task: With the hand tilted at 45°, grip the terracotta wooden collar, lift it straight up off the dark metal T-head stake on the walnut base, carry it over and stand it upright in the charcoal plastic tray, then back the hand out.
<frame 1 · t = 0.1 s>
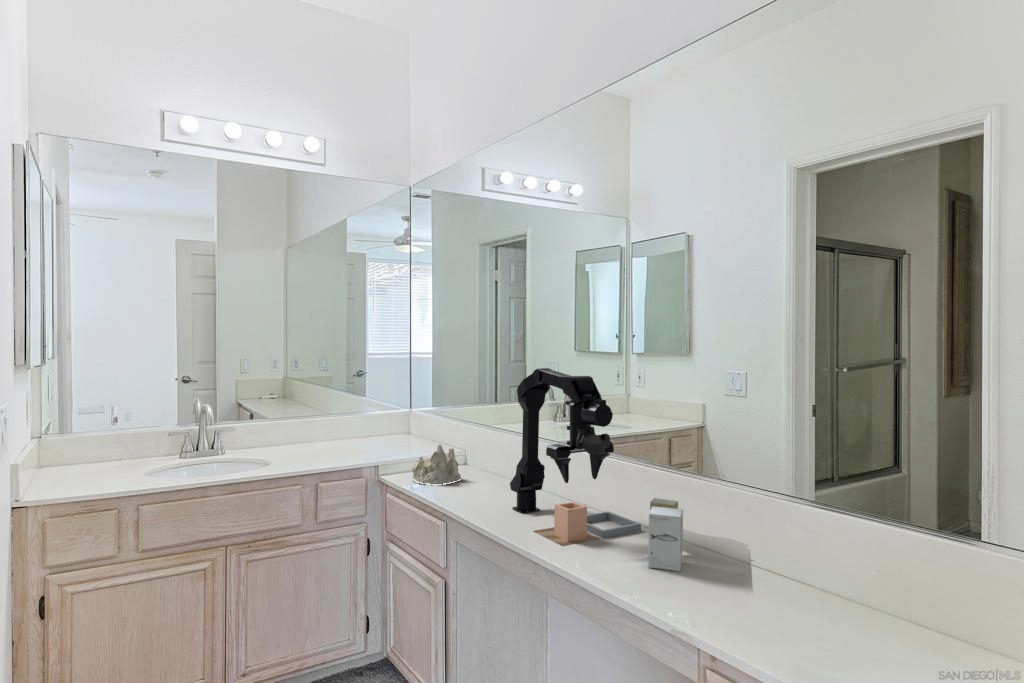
hand: (580, 480, 165), 15 cm above the worktop, tool pointing down, fingers open, 9 cm apart
terracotta collar: (570, 536, 159), point 1 cm above the worktop, touching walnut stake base
charcoal tray: (605, 532, 167), on the worktop
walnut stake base: (566, 540, 161), on the worktop
miniature mountain rock: (437, 481, 230), on the worktop
skincare box: (663, 550, 153), on the worktop
supplement box: (665, 565, 143), on the worktop
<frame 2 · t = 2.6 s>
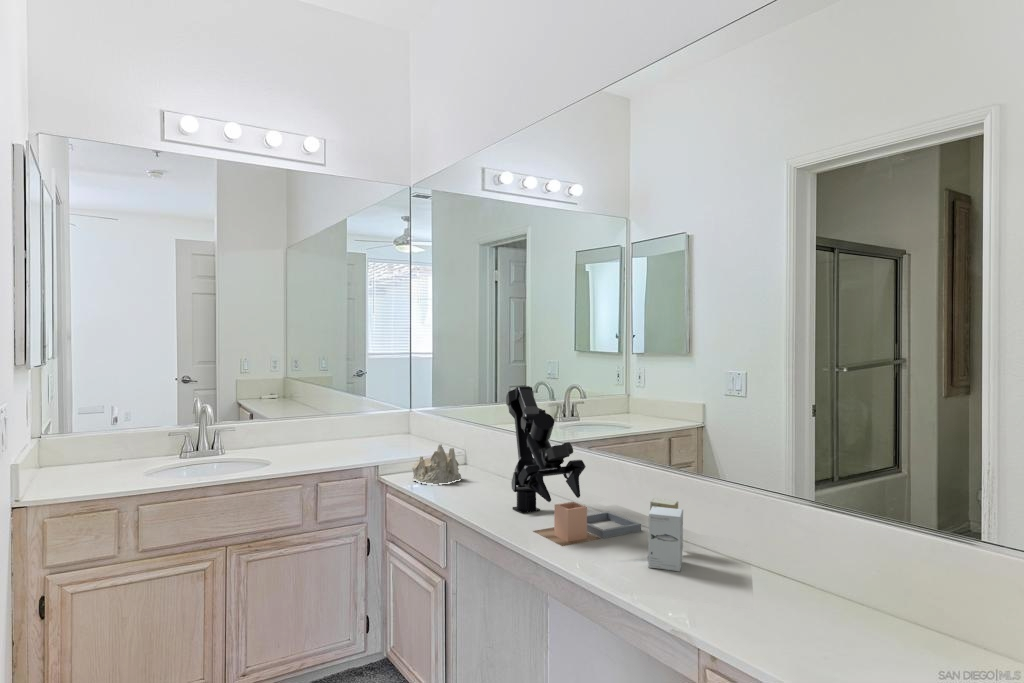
hand: (564, 499, 161), 11 cm above the worktop, tool tilted 45°, fingers open, 9 cm apart
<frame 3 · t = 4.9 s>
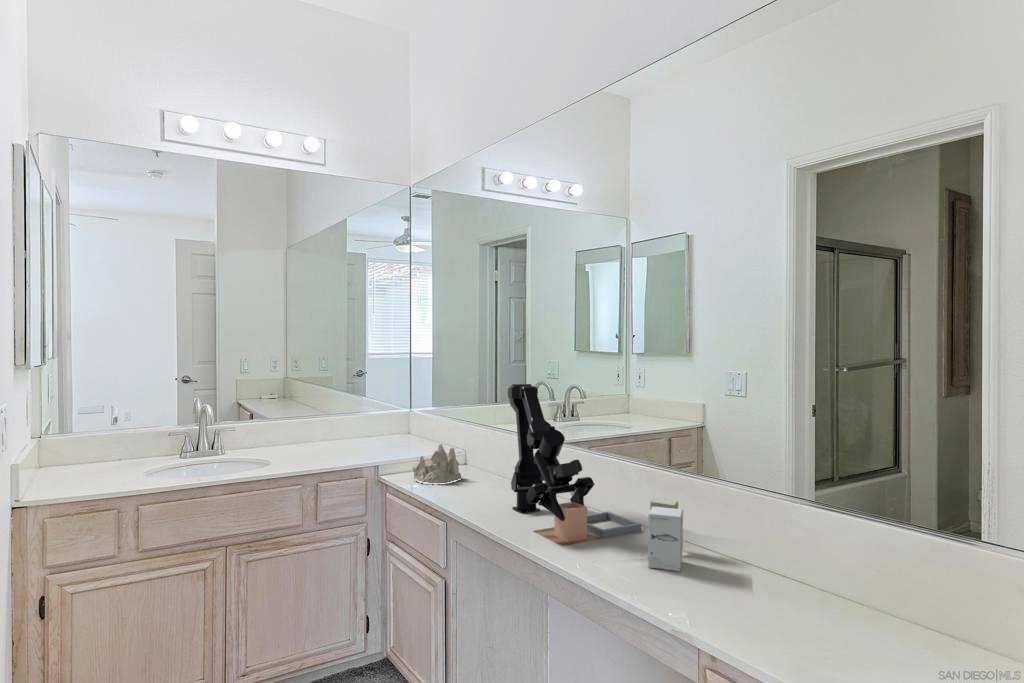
hand: (573, 518, 158), 7 cm above the worktop, tool tilted 45°, fingers closed on terracotta collar, 6 cm apart
terracotta collar: (570, 536, 159), point 2 cm above the worktop, touching gripper, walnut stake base
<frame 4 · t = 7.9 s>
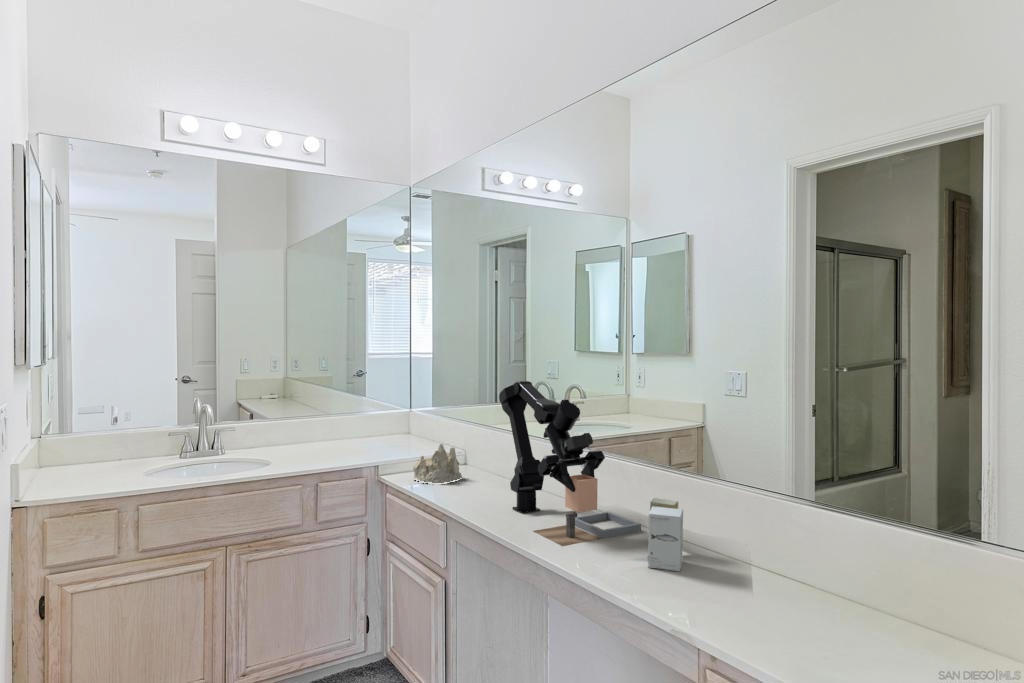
hand: (584, 489, 160), 13 cm above the worktop, tool tilted 45°, fingers closed on terracotta collar, 6 cm apart
terracotta collar: (581, 508, 161), point 8 cm above the worktop, touching gripper
when the fingers open (8 cm above the worktop, at t = 10.9 s): terracotta collar drops 2 cm, resting on charcoal tray.
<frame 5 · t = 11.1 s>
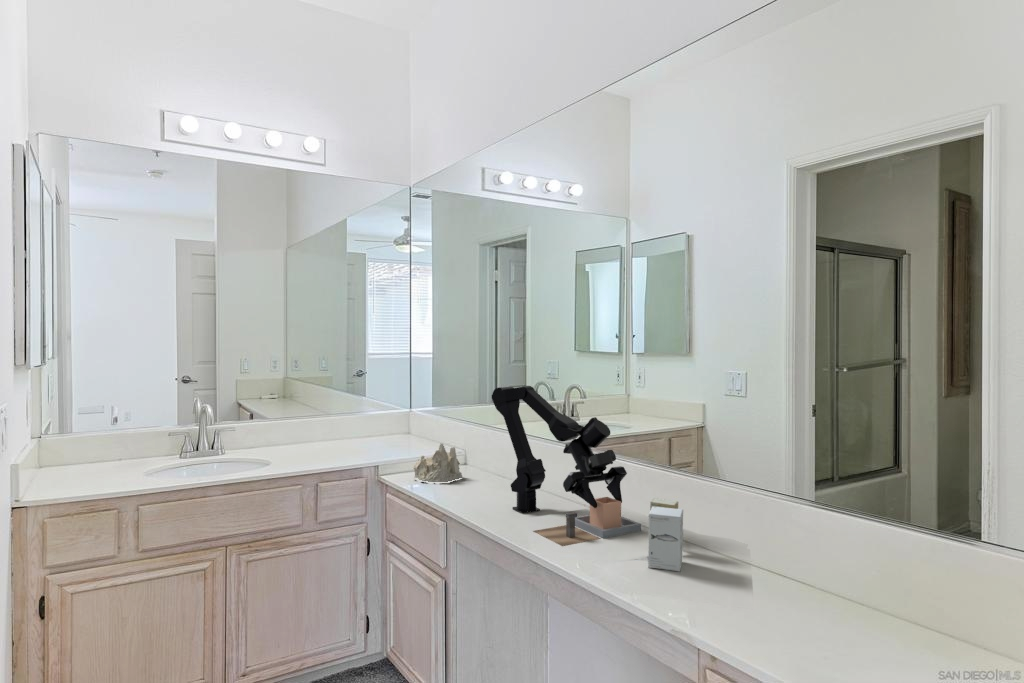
hand: (608, 505, 166), 8 cm above the worktop, tool tilted 45°, fingers open, 8 cm apart
terracotta collar: (605, 530, 167), point 1 cm above the worktop, touching charcoal tray
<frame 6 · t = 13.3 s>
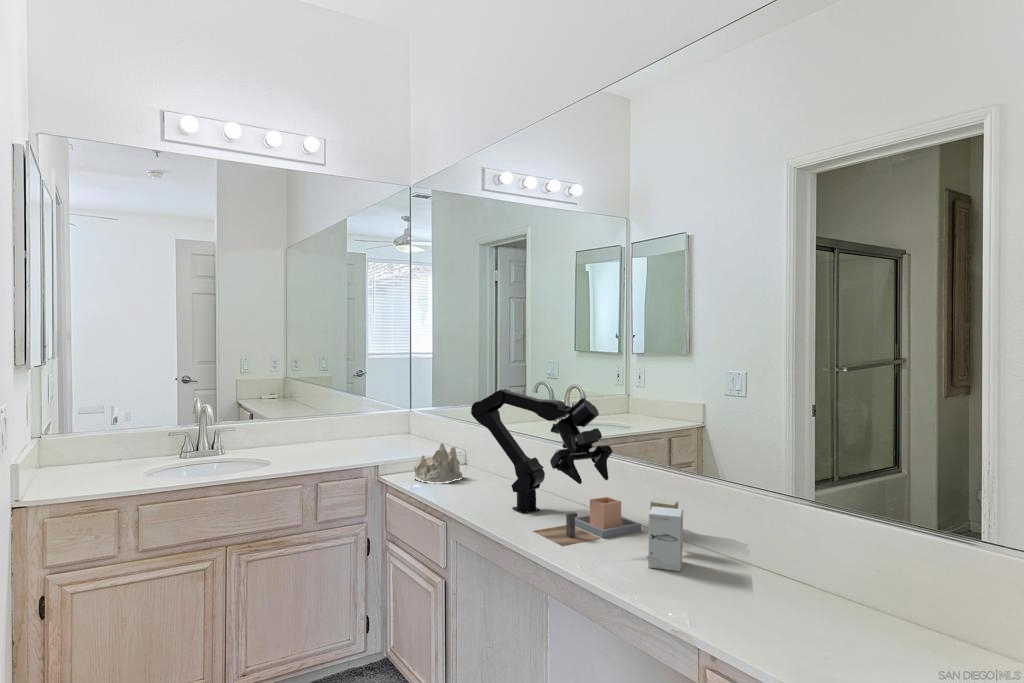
hand: (594, 481, 171), 13 cm above the worktop, tool tilted 45°, fingers open, 9 cm apart
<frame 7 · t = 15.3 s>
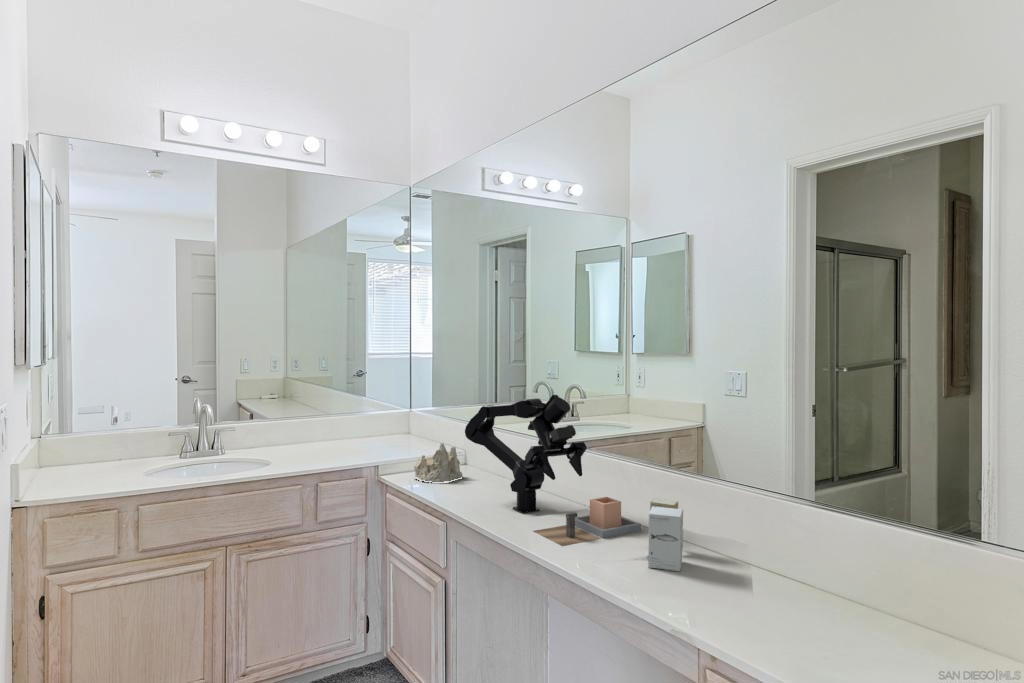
hand: (568, 477, 174), 14 cm above the worktop, tool tilted 45°, fingers open, 9 cm apart
at the end: terracotta collar inside the target area on the charcoal tray (0.1 cm from its centre), point 0.8 cm above the charcoal tray's base; terracotta collar tilted 0°; the gripper is holding nothing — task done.
